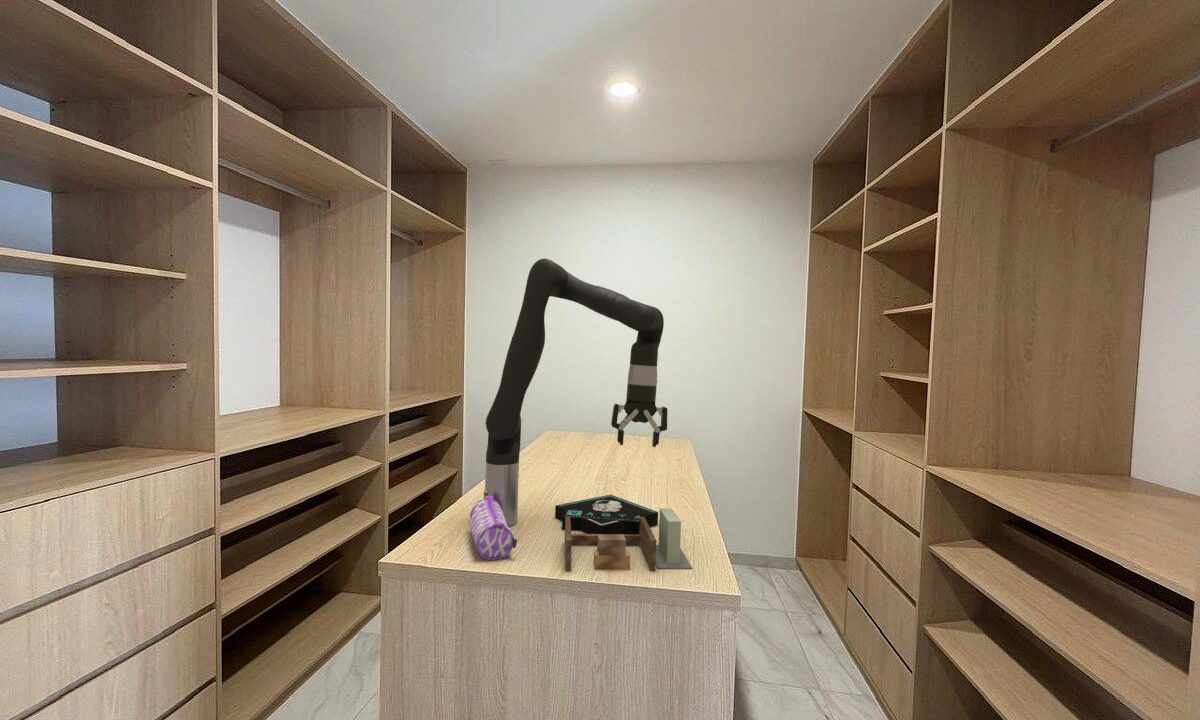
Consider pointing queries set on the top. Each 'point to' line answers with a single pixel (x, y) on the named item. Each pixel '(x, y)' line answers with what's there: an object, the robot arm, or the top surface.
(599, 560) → the block
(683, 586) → the top surface
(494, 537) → the pencil case
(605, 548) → the upper offcut
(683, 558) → the felt pad
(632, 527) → the wall plaque
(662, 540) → the green board
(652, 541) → the rack
